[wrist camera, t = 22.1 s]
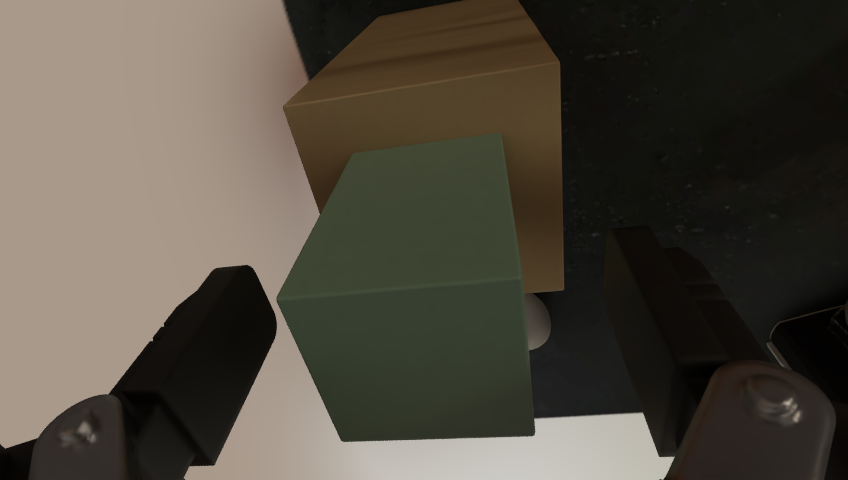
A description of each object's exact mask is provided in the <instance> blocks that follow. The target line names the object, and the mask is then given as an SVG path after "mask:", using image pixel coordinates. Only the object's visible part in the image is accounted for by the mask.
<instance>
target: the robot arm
mask: <svg viewBox="0 0 848 480" xmlns="http://www.w3.org/2000/svg"><path fill="white" fill-rule="evenodd" d="M604 298H605V305H606V310H607V314H608V317H609V320H610V323H611V326H612V328H613V331H614V334H615V337H616V339H617V342H618V345H619V348H620V350H621V353H622V356H623V359H624V361H625V364H626V367H627V370H628V372H629V375H630V378H631V381H632V383H633V386H634V389H635V392H636V394H637V397H638V400H639V403H640V405H641V408H642V411H643V414H644V416H645V419H646V422H647V425H648V427H649V430H650V433H651V436H652V438H653V441H654V444H655V446H656V450H657V452H658V455H659V457H675V458H674V460H673V462H672V465H671V467H670V469H669V471H668V473H667V475H666V477H665V478H664V480H848V404H844V403H839V402H836V401H833V400H830V399H828V398H827V396H826V395H825V394H824V393H823V392H822V391H821V390H820V389H819V388H818V387H817V386H816V385H815V384H814V383H812V382H811V381H810V380H808V379H807V378H805V377H804V376H802V375H801V374H799V373H797V372H795V371H793V370H791V369H788V368H786V367H783V366H781V365H777V364H774V363H772V362H771V360H770V359H769V358H768V356H767V355H766V353H765V352H764V350H763V349H762V348H761V346H760V345H759V343H758V342H757V341H756V339H755V338H754V336H753V335H752V333H751V332H750V331H749V329H748V328H747V326H746V325H745V323H744V322H743V321H742V319H741V318H740V316H739V315H738V314H737V312H736V311H735V309H734V308H733V306H732V305H731V304H730V302H729V301H728V300H725V295H724V294H723V292H722V291H721V289H720V288H719V287H718V285H717V284H714V280H713V278H712V277H711V275H710V274H709V272H708V271H707V270H706V268H705V267H704V265H703V264H702V263H701V261H699V260H697V259H696V258H694V257H693V256H691V255H690V254H688V253H687V252H685V251H684V250H682V249H681V248H679V247H676V248H665V249H663V248H662V247H661V245H660V244H659V242H658V240H657V239H656V237H655V235H654V234H653V232H652V231H651V229H650V228H649V227H648V226H637V227H627V228H617V229H609V230H608V231H607V234H606V248H605V271H604ZM276 330H277V322H276V316H275V313H274V311H273V309H272V307H271V304H270V302H269V300H268V298H267V296H266V294H265V292H264V290H263V288H262V285H261V283H260V281H259V279H258V277H257V275H256V273H255V271H254V270H253V268H252V267H250V266H248V265H242V266H232V267H222V268H216V269H214V270H213V271H212V272H211V273H210V274H209V276H208V277H207V278H206V280H205V281H204V282H203V284H202V285H201V286H200V287H199V289H198V290H197V291H196V292H195V293H193V294H192V295H191V296H189V297H188V298H187V299H186V300H184V301H183V302H182V303H181V304H179V305H178V306H177V307H176V308H175V310H174V311H173V312H172V314H171V315H170V316H169V317H168V319H167V320H166V321H165V323H164V327H161V328H160V329H159V330H158V332H157V333H156V334H155V335H154V337H153V341H150V342H149V343H148V344H147V346H146V347H145V348H144V349H143V351H142V352H141V353H140V355H139V356H138V357H137V358H136V360H135V361H134V362H133V364H132V365H131V366H130V367H129V369H128V370H127V371H126V372H125V374H124V375H123V376H122V378H121V379H120V380H119V381H118V383H117V384H116V385H115V387H114V388H113V389H112V390H111V392H110V393H109V394H108V395H106V394H105V395H98V396H94V397H90V398H88V399H85V400H83V401H81V402H79V403H77V404H75V405H73V406H71V407H70V408H68V409H67V410H65V411H64V412H63V413H62V414H60V415H59V416H57V417H56V418H55V419H54V420H53V421H52V422H51V423H50V424H49V425H48V426H47V427H46V428H45V429H44V431H43V432H42V433H41V434H40V436H39V437H38V438H37V439H34V440H31V441H28V442H25V443H21V444H18V445H15V446H12V447H9V448H6V449H5V448H4V447H2V446H1V445H0V480H185V479H184V476H185V474H186V472H187V470H188V468H189V466H209V465H210V466H213V465H215V463H216V461H217V458H218V456H219V454H220V452H221V450H222V448H223V446H224V444H225V442H226V440H227V438H228V436H229V433H230V431H231V429H232V427H233V425H234V423H235V421H236V419H237V416H238V414H239V412H240V410H241V408H242V406H243V404H244V402H245V400H246V398H247V396H248V394H249V392H250V389H251V387H252V385H253V383H254V381H255V379H256V377H257V375H258V373H259V371H260V369H261V366H262V364H263V362H264V360H265V358H266V356H267V354H268V352H269V349H270V348H271V345H272V343H273V341H274V339H275V336H276ZM660 480H661V479H660Z"/></svg>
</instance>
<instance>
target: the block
mask: <svg viewBox="0 0 848 480" xmlns="http://www.w3.org/2000/svg"><path fill="white" fill-rule="evenodd" d="M277 303H278V305H279V307H280V309H281V312H282V314H283V316H284V318H285V320H286V322H287V325H288V327H289V329H290V331H291V333H292V335H293V338H294V340H295V342H296V344H297V346H298V348H299V351H300V353H301V355H302V357H303V359H304V361H305V363H306V366H307V368H308V370H309V372H310V374H311V376H312V378H313V381H314V383H315V385H316V387H317V389H318V392H319V394H320V396H321V398H322V400H323V402H324V404H325V407H326V409H327V411H328V413H329V415H330V417H331V420H332V422H333V424H334V426H335V428H336V430H337V433H338V435H339V437H340V439H341V441H343V442H353V441H384V440H385V441H388V440H422V439H453V438H454V439H455V438H488V437H520V436H534V435H535V426H534V425H535V424H534V411H533V398H532V385H531V373H530V360H529V347H528V335H527V322H526V309H525V297H524V284H523V275H522V268H521V261H520V255H519V248H518V241H517V235H516V228H515V222H514V215H513V208H512V202H511V195H510V188H509V182H508V175H507V169H506V162H505V155H504V149H503V142H502V135H501V133H493V134H486V135H479V136H472V137H465V138H458V139H450V140H443V141H436V142H429V143H422V144H415V145H407V146H400V147H393V148H386V149H379V150H372V151H364V152H357V153H353V154H352V156H351V157H350V159H349V161H348V163H347V165H346V167H345V169H344V171H343V173H342V174H341V176H340V178H339V180H338V182H337V184H336V186H335V188H334V190H333V192H332V193H331V195H330V197H329V199H328V201H327V203H326V205H325V207H324V209H323V210H322V212H321V214H320V216H319V218H318V220H317V222H316V224H315V226H314V227H313V229H312V231H311V233H310V235H309V237H308V239H307V241H306V243H305V245H304V246H303V248H302V250H301V252H300V254H299V256H298V258H297V260H296V262H295V263H294V265H293V268H292V269H291V271H290V273H289V275H288V277H287V279H286V281H285V283H284V284H283V286H282V288H281V290H280V292H279V294H278V296H277Z"/></svg>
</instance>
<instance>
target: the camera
mask: <svg viewBox="0 0 848 480" xmlns="http://www.w3.org/2000/svg"><path fill="white" fill-rule="evenodd" d="M767 346H768V348H769V349H770V350H771V352H772V353H773V355H774V356H775V357H776V359H777V360H778V362H779V363H780V364H781V366H783V367H786V368H788V369H791V370H793V371H795V372H797V373H799V374H801V375H802V376H804V377H805V378H807V379H808V380H810V381H811V382H812V383H814V384H815V385H816V386H817V387H818V388H819V389H820V390H821V391H822V392H823V393H824V394H825V395H826V396H827V398H828V399H830V400H833V401H836V402H839V403H844V404H848V299H847V301H846V304H845V305H841V306H837V307H833V308H829V309H825V310H821V311H817V312H813V313H810V314H806V315H802V316H799V317H795V318H791V319H788V320H784V321H780V322H778V323H777V324H776V325H775V326H774V328H773V330H772V332H771V334H770V342H767Z"/></svg>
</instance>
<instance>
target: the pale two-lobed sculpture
mask: <svg viewBox="0 0 848 480" xmlns="http://www.w3.org/2000/svg"><path fill="white" fill-rule="evenodd" d="M524 297H525V309H526V322H527V335H528V347H529V350H532V349H535V348H538V347H540V346H541V345H543V344H544V343H545V342H546V340H547V339H548V337H549V334H550V330H551V321H550V317H549V313H548V310H547V308H546V306H545V305H544V303H543V302H542V301H541V300H540V299H539V298H538V297H537V296H535V295H534V294H533V293H524Z"/></svg>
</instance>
